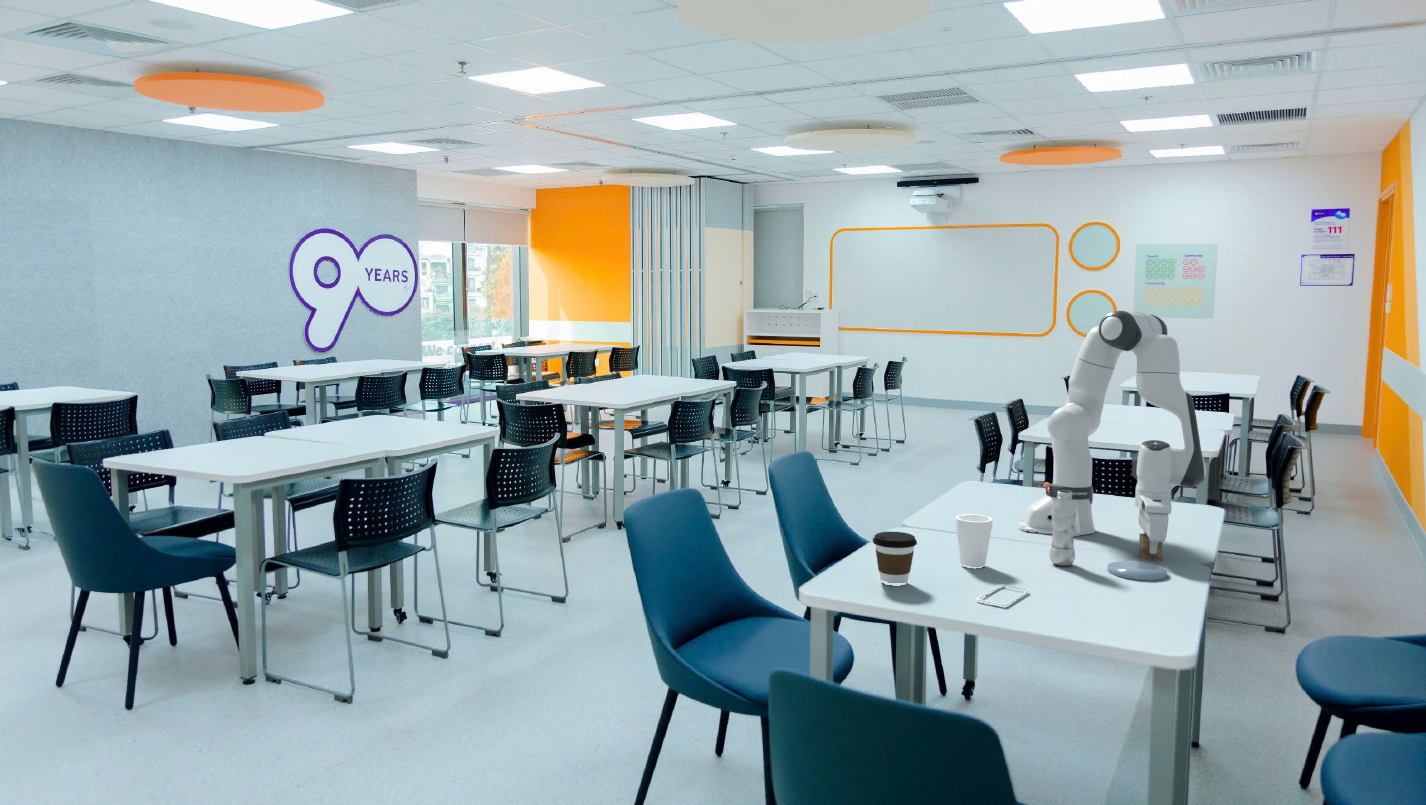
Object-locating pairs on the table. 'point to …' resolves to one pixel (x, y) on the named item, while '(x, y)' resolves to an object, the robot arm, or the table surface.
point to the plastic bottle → (1063, 529)
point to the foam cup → (973, 538)
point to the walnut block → (1144, 549)
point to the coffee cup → (894, 555)
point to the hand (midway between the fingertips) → (1150, 549)
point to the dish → (1137, 570)
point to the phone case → (1008, 602)
